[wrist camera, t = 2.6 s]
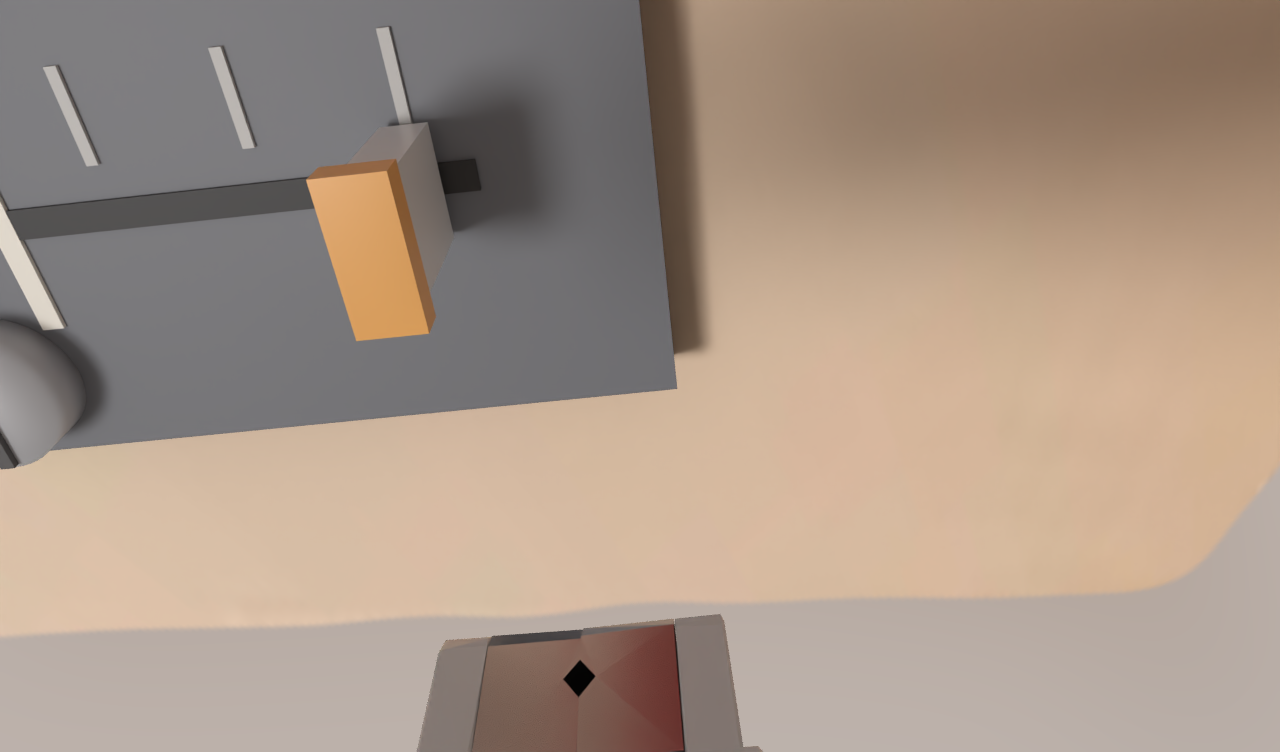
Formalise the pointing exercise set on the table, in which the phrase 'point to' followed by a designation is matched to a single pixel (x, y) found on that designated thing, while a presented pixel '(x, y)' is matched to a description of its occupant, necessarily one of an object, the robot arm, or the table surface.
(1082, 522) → the table surface
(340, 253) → the fader
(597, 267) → the console
